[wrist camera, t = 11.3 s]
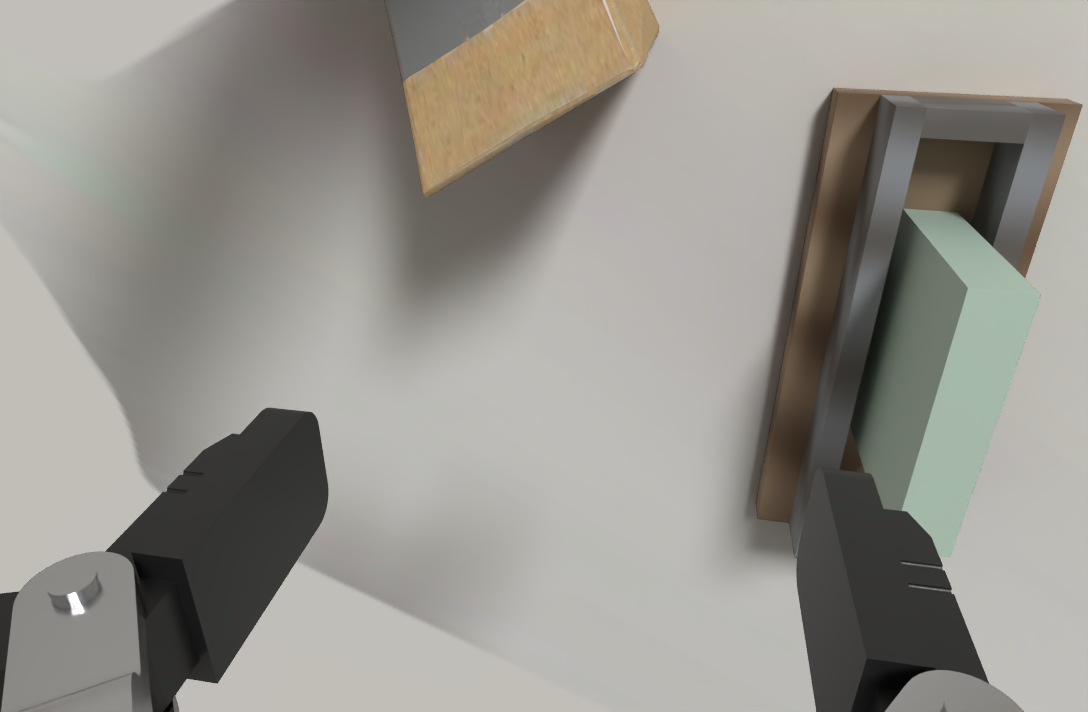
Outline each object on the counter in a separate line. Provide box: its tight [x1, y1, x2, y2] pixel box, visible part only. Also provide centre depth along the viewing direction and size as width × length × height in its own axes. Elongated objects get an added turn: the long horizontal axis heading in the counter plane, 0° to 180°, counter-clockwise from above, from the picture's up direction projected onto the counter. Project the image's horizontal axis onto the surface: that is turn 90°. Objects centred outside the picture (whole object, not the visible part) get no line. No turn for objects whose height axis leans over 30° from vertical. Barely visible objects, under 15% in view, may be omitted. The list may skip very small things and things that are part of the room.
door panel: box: [850, 209, 1041, 557], centre depth 34 cm, size 12×3×10 cm, turn 179°
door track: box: [756, 88, 1082, 558], centre depth 38 cm, size 24×10×4 cm, turn 179°
